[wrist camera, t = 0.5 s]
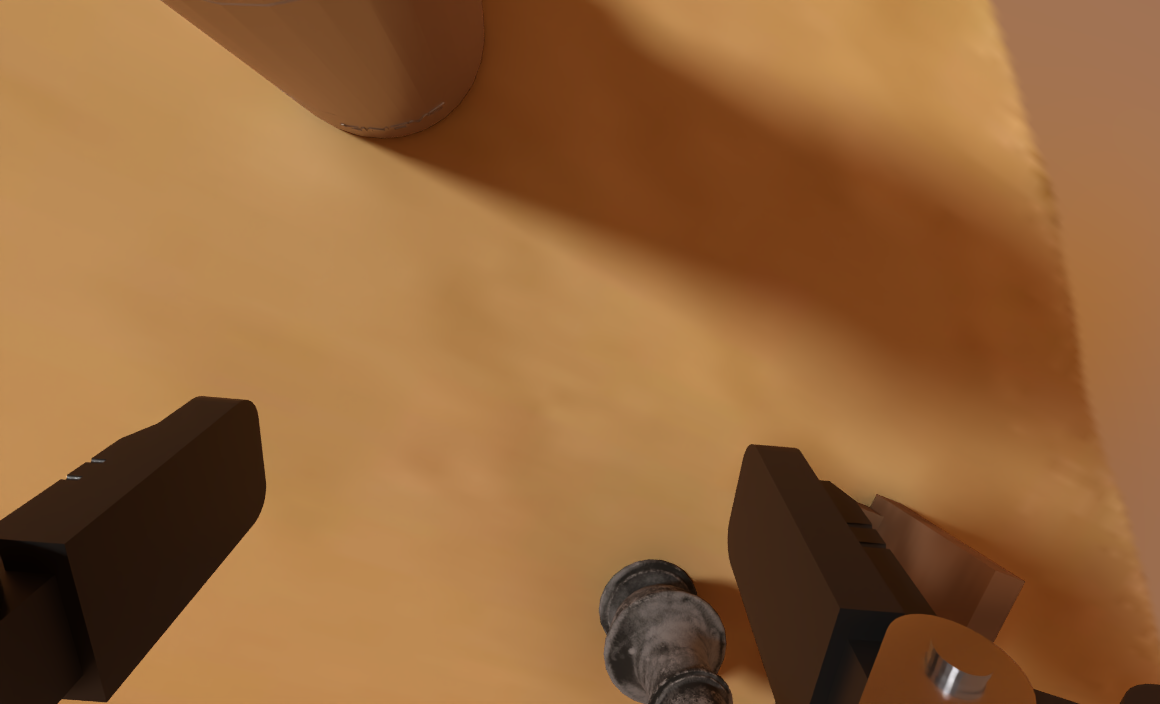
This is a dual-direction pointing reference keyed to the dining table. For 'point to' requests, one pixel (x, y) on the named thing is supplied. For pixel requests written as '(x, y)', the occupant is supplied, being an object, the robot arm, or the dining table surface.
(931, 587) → the walnut screen
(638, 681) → the dark metal turned piece
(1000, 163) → the dining table surface
